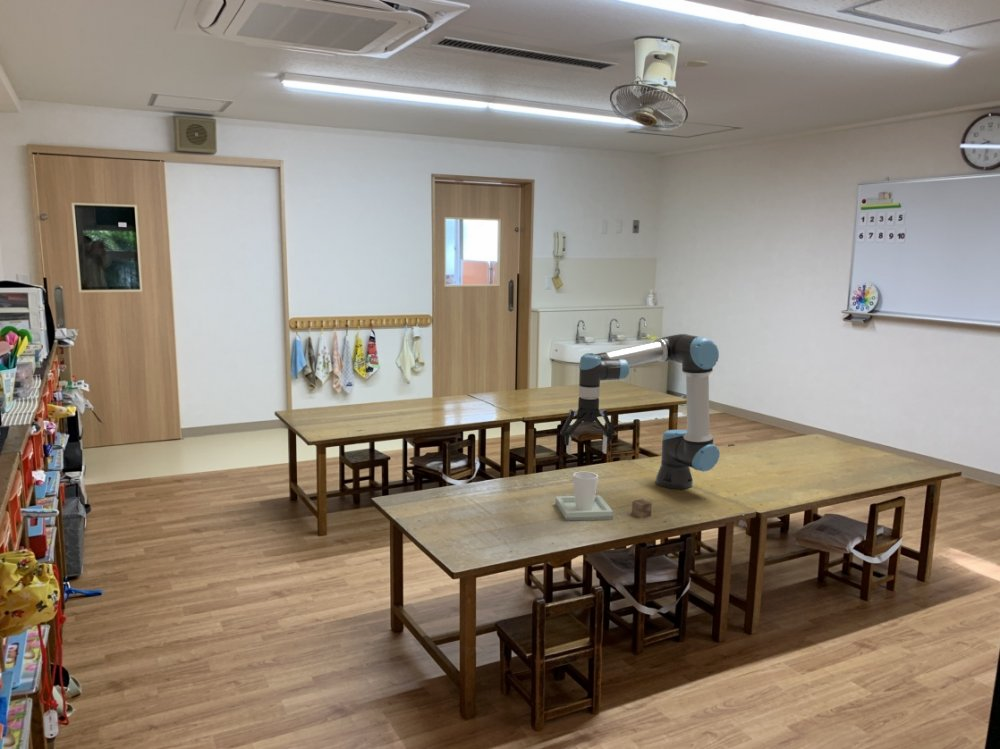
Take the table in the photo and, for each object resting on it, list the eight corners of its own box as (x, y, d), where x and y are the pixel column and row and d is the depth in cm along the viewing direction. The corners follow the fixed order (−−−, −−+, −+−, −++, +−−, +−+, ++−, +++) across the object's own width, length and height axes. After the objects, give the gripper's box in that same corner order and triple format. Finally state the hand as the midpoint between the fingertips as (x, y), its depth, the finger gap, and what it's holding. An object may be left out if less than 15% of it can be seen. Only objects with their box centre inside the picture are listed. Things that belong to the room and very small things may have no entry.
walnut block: (642, 511, 281) (642, 498, 280) (650, 515, 276) (651, 503, 275) (631, 513, 278) (632, 500, 277) (640, 518, 274) (641, 505, 273)
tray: (599, 502, 289) (599, 495, 288) (612, 519, 272) (613, 511, 271) (555, 503, 286) (555, 496, 286) (565, 520, 269) (566, 512, 269)
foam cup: (596, 504, 283) (598, 472, 281) (597, 513, 274) (598, 479, 272) (571, 503, 284) (572, 470, 282) (571, 511, 275) (572, 478, 272)
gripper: (618, 394, 277) (616, 449, 281) (553, 395, 273) (551, 451, 277) (624, 398, 270) (622, 455, 273) (557, 399, 266) (555, 456, 270)
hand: (586, 453), depth 275 cm, fingers open, 13 cm apart
